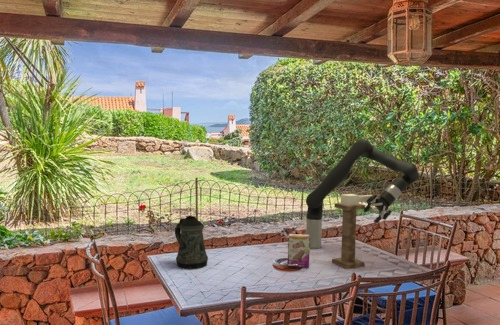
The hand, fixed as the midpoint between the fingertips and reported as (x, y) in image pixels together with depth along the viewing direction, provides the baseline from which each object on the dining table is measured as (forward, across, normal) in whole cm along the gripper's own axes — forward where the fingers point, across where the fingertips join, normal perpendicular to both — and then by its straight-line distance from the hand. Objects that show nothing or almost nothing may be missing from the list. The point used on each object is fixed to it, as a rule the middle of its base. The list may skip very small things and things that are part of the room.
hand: (369, 217), depth 233 cm
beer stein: (+83, +48, -18) cm, 97 cm away
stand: (+25, -10, -2) cm, 28 cm away
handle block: (-2, +7, -4) cm, 9 cm away
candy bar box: (+44, +9, -4) cm, 45 cm away
